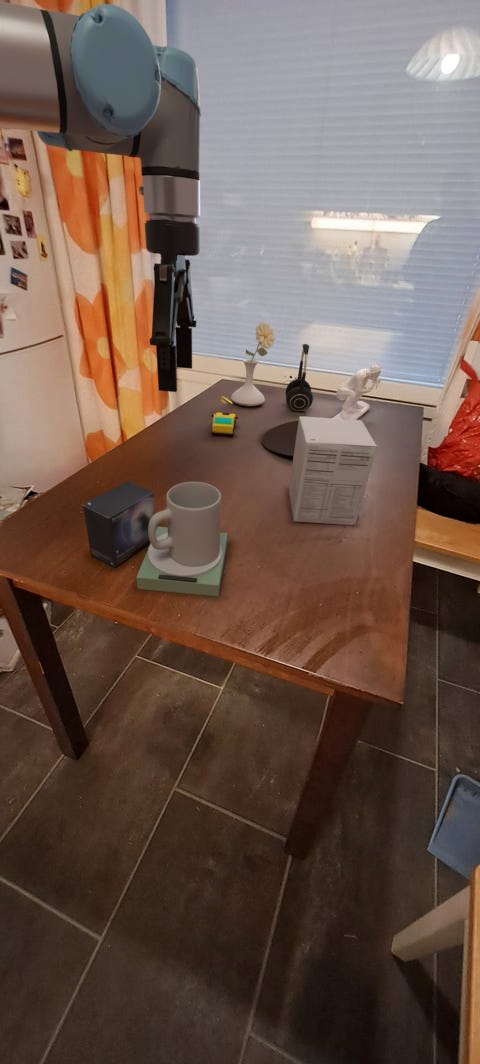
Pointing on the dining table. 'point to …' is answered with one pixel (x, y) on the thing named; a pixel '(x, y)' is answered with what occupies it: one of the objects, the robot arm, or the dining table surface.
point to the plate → (281, 438)
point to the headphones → (300, 388)
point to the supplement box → (330, 470)
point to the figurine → (356, 393)
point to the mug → (190, 524)
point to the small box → (119, 522)
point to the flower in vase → (248, 391)
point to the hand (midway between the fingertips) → (176, 378)
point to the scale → (180, 571)
